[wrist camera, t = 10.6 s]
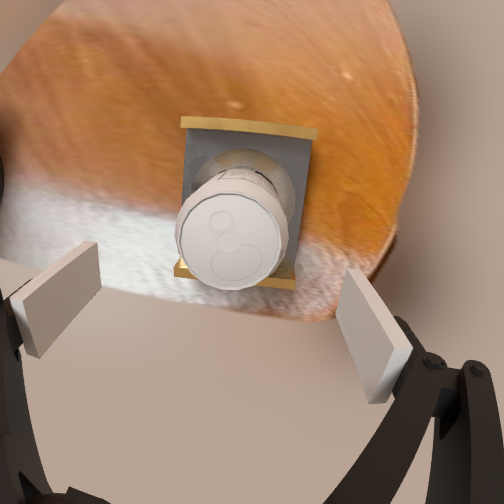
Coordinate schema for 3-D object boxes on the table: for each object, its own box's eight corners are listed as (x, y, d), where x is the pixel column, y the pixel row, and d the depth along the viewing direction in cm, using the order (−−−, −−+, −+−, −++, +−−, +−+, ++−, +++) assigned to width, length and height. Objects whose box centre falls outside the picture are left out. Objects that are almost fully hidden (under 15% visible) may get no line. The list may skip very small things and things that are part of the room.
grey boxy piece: (188, 252, 43) (173, 276, 35) (196, 120, 36) (181, 116, 29) (288, 263, 43) (294, 289, 35) (306, 131, 37) (318, 129, 29)
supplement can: (287, 222, 35) (304, 278, 21) (219, 243, 36) (195, 309, 22) (265, 155, 33) (269, 165, 19) (195, 179, 34) (151, 207, 20)
